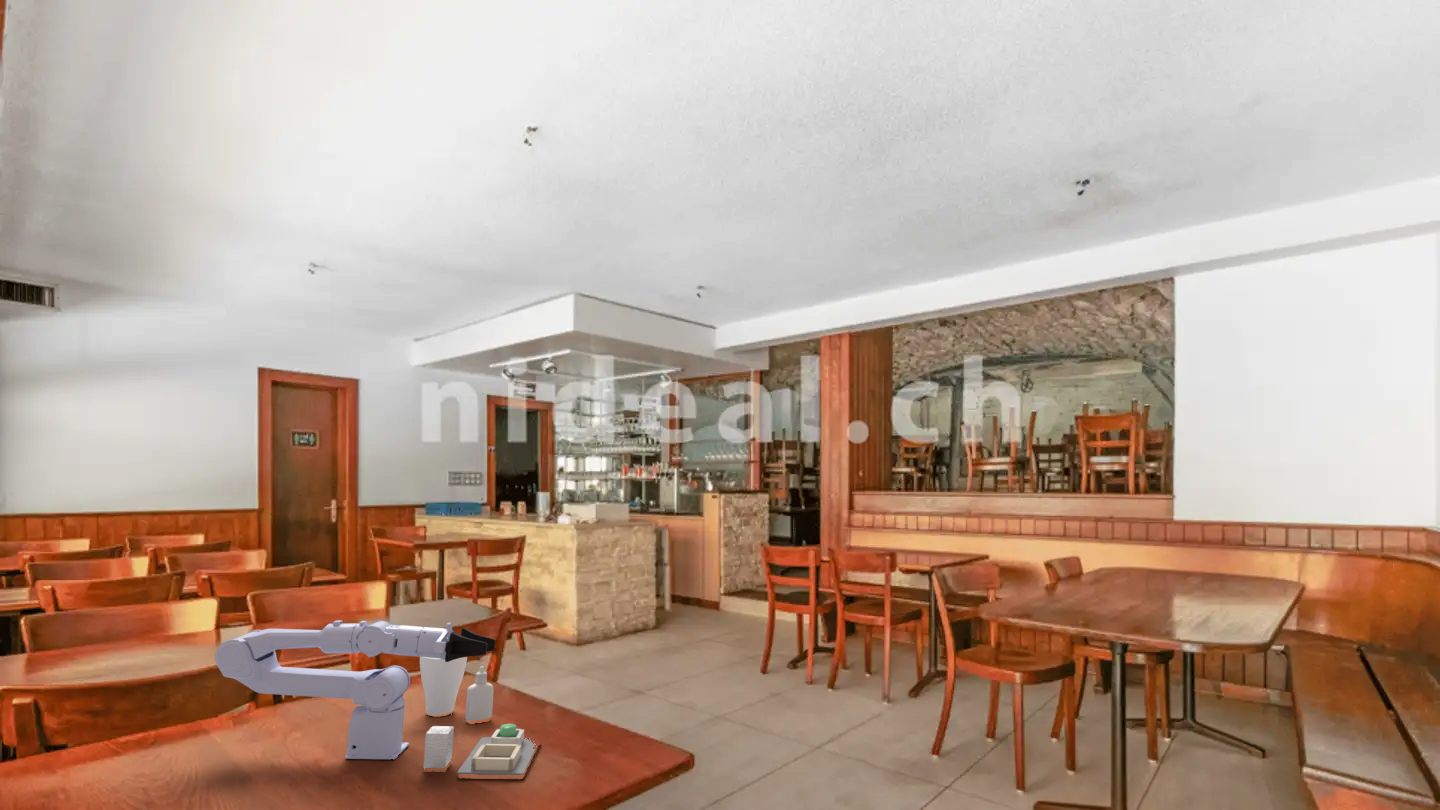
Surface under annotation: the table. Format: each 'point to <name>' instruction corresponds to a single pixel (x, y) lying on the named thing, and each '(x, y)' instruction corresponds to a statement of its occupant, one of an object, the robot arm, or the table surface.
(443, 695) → the cup
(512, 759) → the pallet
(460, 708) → the table surface
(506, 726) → the button
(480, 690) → the eye dropper bottle
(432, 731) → the block
